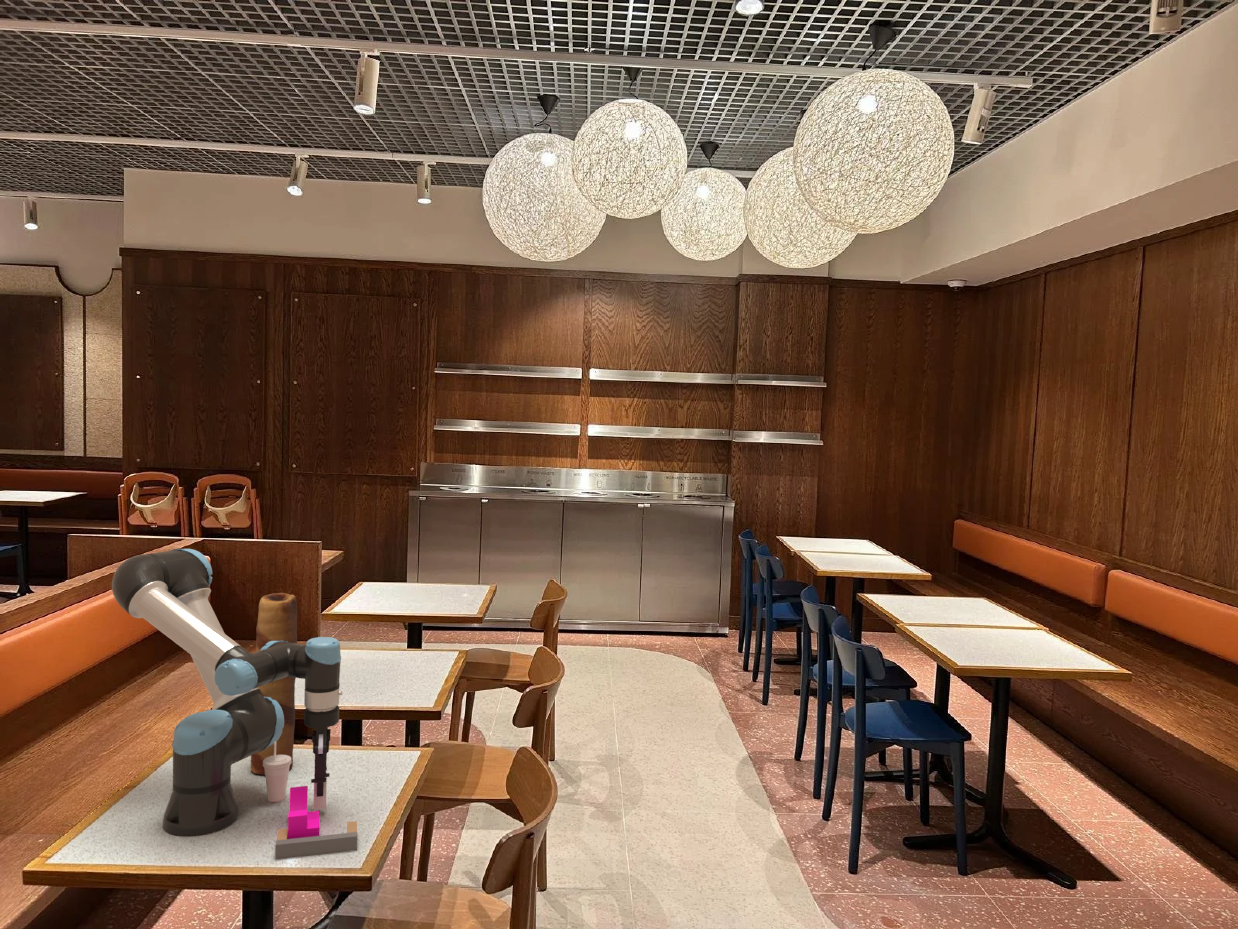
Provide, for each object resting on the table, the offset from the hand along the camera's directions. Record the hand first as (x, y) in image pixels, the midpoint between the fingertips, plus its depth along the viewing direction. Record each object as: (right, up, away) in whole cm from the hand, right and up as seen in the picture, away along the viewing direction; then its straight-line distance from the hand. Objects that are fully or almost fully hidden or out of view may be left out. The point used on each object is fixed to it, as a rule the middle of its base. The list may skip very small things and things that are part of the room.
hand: (319, 807), depth 195 cm
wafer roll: (-21, 0, +24) cm, 32 cm away
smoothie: (-13, -1, +7) cm, 15 cm away
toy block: (-1, -3, -8) cm, 9 cm away
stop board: (+5, -3, -15) cm, 16 cm away
